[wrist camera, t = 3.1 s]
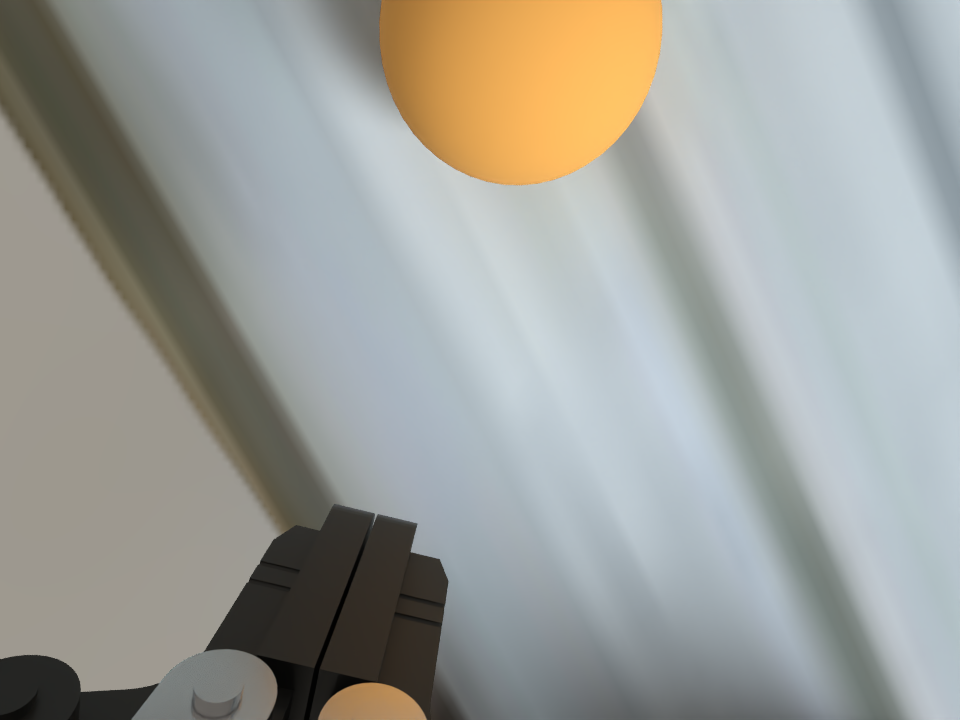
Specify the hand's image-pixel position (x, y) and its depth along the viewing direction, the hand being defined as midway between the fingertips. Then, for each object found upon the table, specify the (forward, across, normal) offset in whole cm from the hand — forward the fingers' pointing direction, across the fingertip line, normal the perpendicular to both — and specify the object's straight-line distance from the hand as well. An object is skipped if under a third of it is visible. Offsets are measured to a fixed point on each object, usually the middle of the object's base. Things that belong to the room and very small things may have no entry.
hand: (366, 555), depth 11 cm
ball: (+6, 0, -9) cm, 11 cm away
